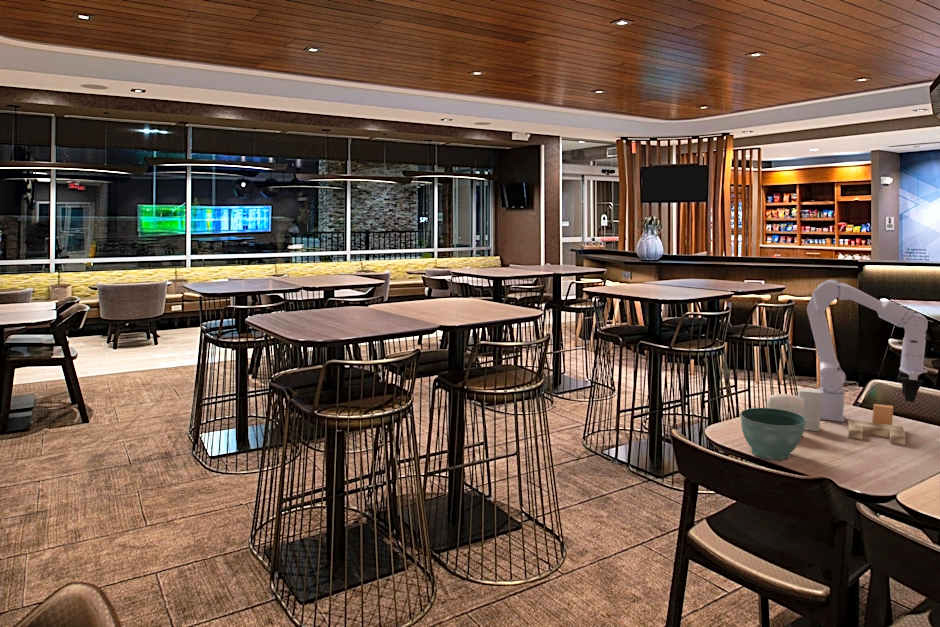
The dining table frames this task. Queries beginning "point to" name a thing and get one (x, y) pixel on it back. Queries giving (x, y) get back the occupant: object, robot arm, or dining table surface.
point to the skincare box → (811, 408)
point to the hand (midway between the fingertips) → (908, 398)
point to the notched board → (876, 431)
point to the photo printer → (786, 403)
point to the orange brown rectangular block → (882, 414)
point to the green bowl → (772, 431)
